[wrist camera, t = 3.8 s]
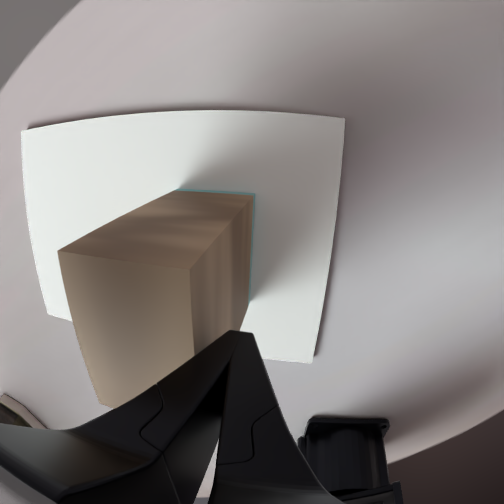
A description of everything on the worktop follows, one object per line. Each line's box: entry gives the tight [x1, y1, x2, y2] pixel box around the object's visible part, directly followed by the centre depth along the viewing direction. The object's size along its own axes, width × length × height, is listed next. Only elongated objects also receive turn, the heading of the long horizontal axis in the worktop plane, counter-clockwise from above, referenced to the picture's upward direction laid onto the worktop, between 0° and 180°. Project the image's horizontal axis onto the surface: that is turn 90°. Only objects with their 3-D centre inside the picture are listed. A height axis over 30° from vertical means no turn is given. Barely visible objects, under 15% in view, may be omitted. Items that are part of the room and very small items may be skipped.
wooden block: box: [57, 189, 255, 409], centre depth 12 cm, size 4×6×9 cm, turn 177°
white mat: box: [21, 110, 345, 363], centre depth 17 cm, size 20×14×1 cm
